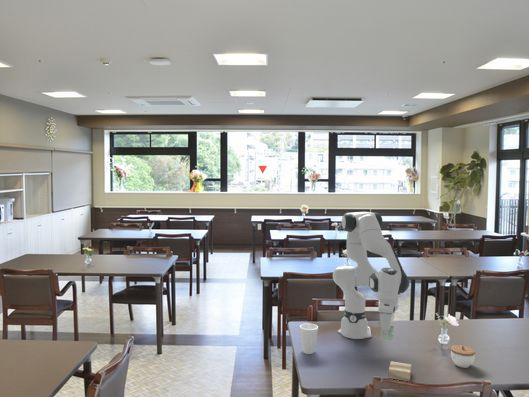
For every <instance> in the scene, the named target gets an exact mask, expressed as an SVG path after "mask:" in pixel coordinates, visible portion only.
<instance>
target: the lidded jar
mask: <svg viewBox="0 0 529 397" xmlns="http://www.w3.org/2000/svg"><path fill="white" fill-rule="evenodd" d="M450 356H451V357H450V358H451V360H452V361H453V363H454V364H455V366H457V367H459V368H463V369H468V368H469V367H470V366H472V365H473V364H474V362H475V357H476V350H475V349H474V348H472V347H470V346H467V345H461V344H455V345H452V346H450Z"/></svg>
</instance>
